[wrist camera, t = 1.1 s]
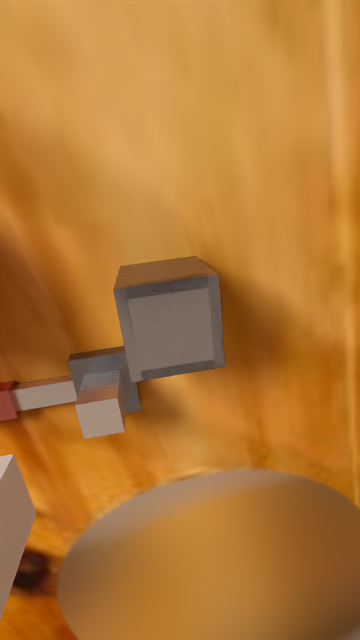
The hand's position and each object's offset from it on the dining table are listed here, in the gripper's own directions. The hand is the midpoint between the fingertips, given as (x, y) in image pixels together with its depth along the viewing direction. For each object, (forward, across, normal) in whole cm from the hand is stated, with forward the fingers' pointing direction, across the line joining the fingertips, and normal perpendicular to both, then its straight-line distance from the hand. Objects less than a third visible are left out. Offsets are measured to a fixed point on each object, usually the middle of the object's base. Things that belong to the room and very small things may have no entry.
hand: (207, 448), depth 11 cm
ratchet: (+20, -13, -8) cm, 25 cm away
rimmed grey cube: (+20, 0, 0) cm, 20 cm away
